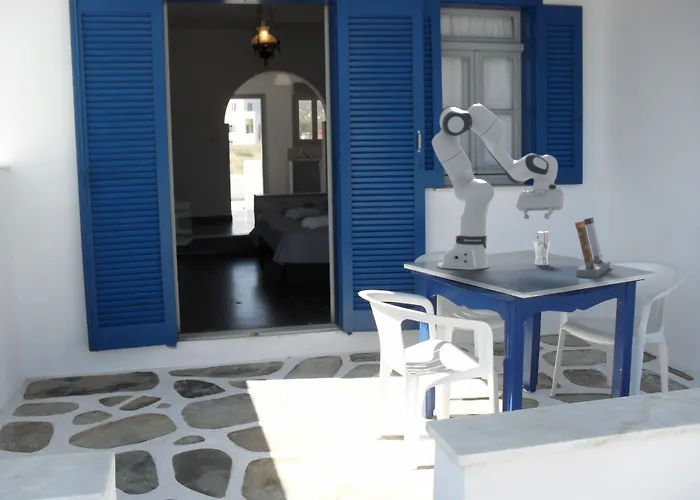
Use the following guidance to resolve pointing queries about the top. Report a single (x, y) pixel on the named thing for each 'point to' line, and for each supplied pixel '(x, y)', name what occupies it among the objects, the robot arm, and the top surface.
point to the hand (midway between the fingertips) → (536, 218)
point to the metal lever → (593, 237)
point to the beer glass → (541, 247)
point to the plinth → (593, 268)
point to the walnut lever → (584, 242)
